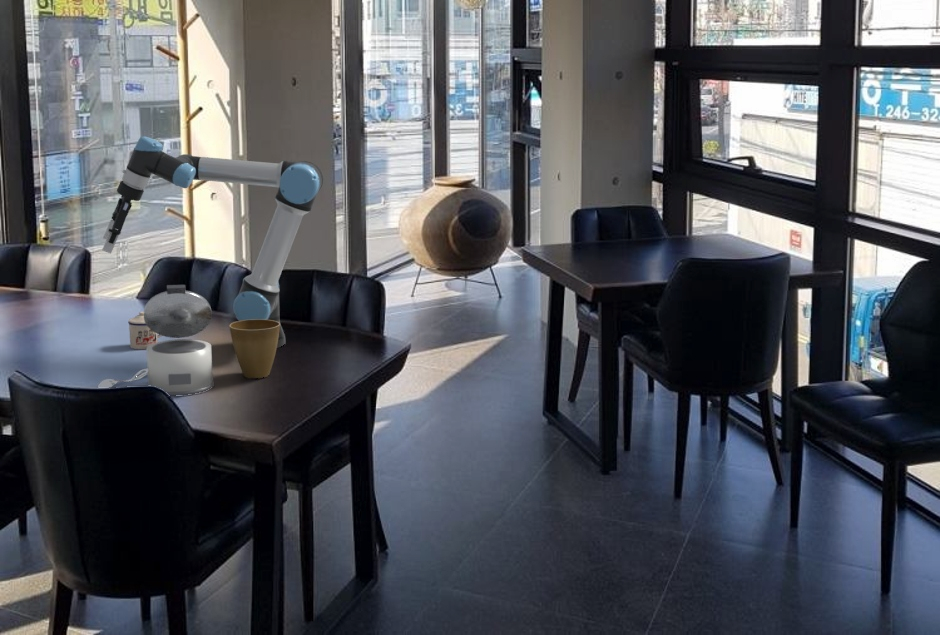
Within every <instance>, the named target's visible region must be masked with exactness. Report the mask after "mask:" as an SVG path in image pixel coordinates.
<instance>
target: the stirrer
mask: <svg viewBox="0 0 940 635" xmlns="http://www.w3.org/2000/svg"><path fill="white" fill-rule="evenodd" d="M146 376H148V368H143V369H141V370H138V372H137V373H135V374H134V376H132V377H131V378H130V379H126V380H118V379H113V378H111V379H110V378H107V379H103V380H101V381H100V383H99V384H98V385H97V388H98V387H110V388H112V387H113V386H114V385H116V384H117V383H120V382H121V383H130V382H132V381H135V380H141V379H143V378H144V377H146ZM129 381H130V382H129Z"/></svg>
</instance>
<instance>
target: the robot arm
mask: <svg viewBox="0 0 940 635" xmlns="http://www.w3.org/2000/svg"><path fill="white" fill-rule="evenodd" d="M163 148H164V145H163V144H162V143H161V142H159V141H158V140H156V139H154V138H151V137H148V136H140V137H139V139H138V141H137V143H136V145H135V147H134V148H133V150H132V154H131V156H130V159H129V161H128V162H127V166H126V168H125V169H123V170H122V173H123V175H122V177H121V179H122V180H120V182H119V184H118V186H117V189H116V192H117V193H118V194H119V196H120V197H119V199H118V200H117V203H116V206H115V209H114V211H113V213H112V216H111V219H110V220H109V223H108V226H107V228H106V231H105V233H104V235H103V237H102V238H103V239H104V240H105V243H104V244H103V247H102V251H103V252H105V253H108V254H112V252H113V249H114V247H115V245H116V243H117V241H118V238H119V236H120V235H121V233H122V229H123V226H124V223H125V221H126V218H127V217H128V215H129V212H130V210H131V208H132V206H133V205H132V201H135V202H139V201H141V199H142V196H143V194H144V189H146V188H147V187H148V186H147V185H148V183H149V181H150V178H151V175H152V174H153V175H155V176H156V177H159V178H161V179H163V180H165V181H167V182H169V183H171V184H173V185H175V186H177V187H180V188H182V189H188V188H189V186H191V184H192V182H193V180H194V181H208V182H218V183H230V184H240V185H241V184H242V185H248V186H249V185H250V186H251V185H252V186H262V187H273V188H277V192H276V195H275V198H274V200H275V202H276V204H277V205H276V208H275V211H274V214H273V216H272V218H271V222H270V224H269V227H268V229H267V232H266V235H265V237H264V240H263V242H262V246H261V248H260V251H259V254H258V256H257V259H256V261H255V264H254V266H253V270H252V272H251V274H249V275H246V276H245V277H244V278H243V279H242V284H241V287H240V290H239V292H238V294H237V296H236V297H235V298H234V301H233V304H232V305H233V306H232V308H233V314H234V316H235V318H236V319H237V320H238V321H242V320H251V319H265V320H274V321H277V322H279V323H280V330H279V338H278V344H277V349H278V348H281V346H282V347H283V345H284V344H285V345H286V334H285V333H284V332H285V331H284V329H283V327H282V325H281V320H280V283H279V280H280V277H281V275H282V271H283V269H284V266H285V264H286V261H287V259H288V257H289V254H290V252H291V249H292V246H293V244H294V240H295V238H296V236H297V233H298V231H299V228H300V225H301V223H302V221H303V220H302V219H303V218H304V215H306V214H308V213H310V212H311V211H312V208H313V205H314V204H315V200H316V197H317V195H318V193H320V192H319V191H321V189H322V187H323V184H324V176H323V172H322V171H321V169H320V167H319V166H318V165H316V164H315V163H313V162H311V161H307V160H299V161H298V160H297V161H296V160H295V161H292V160H291V161H288V160H282V161H281V162H279V163H276V162H275V163H274V162H264V161H253V160H252V161H251V160H243V159H242V160H241V159H230V158H222V157H221V158H219V157H210V156H209V157H208V156H194V155H192V154H180V155H178V156H176V157H174V156H173V155H170V154H168V153H166V152H164V151H163ZM285 345H284V346H285Z"/></svg>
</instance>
